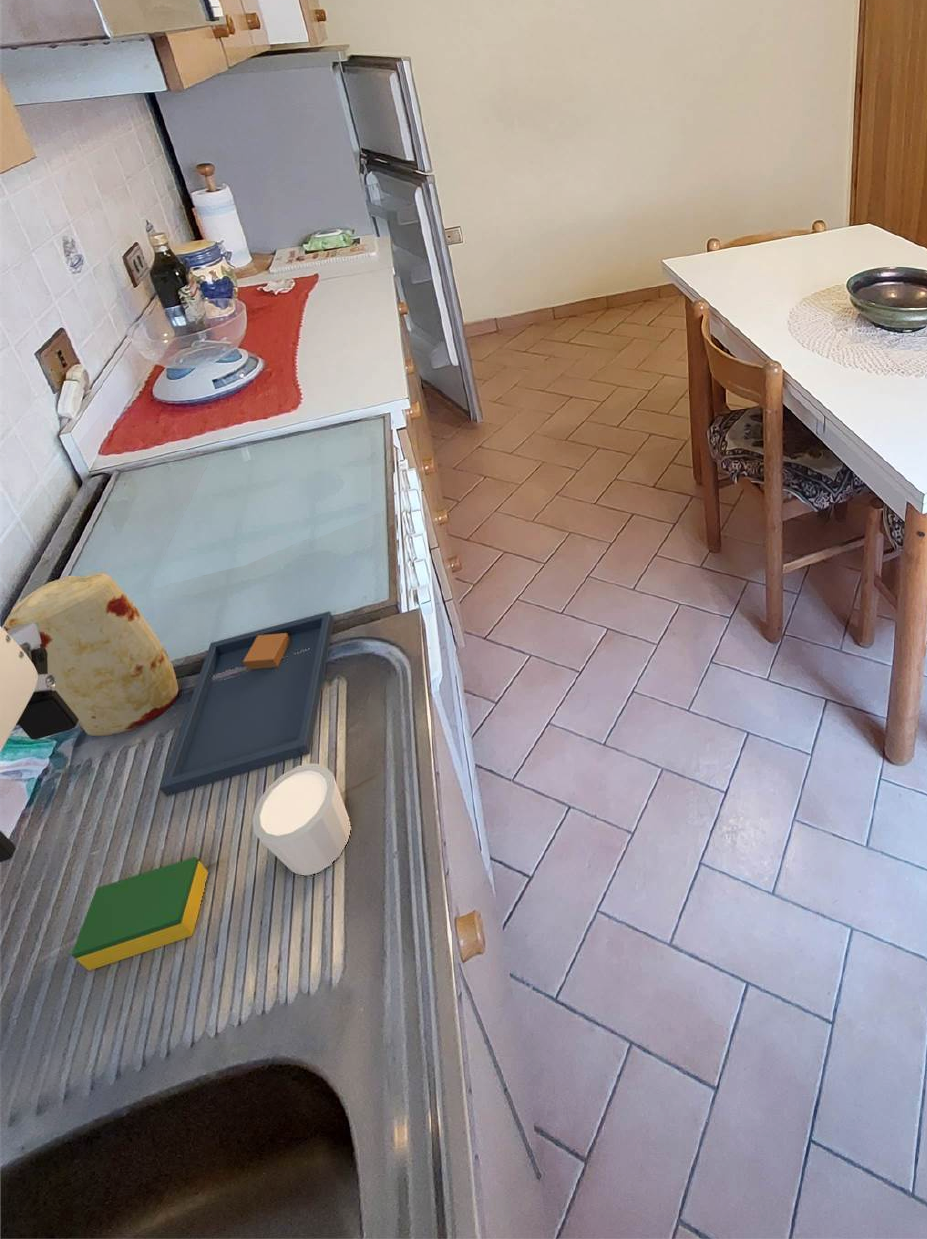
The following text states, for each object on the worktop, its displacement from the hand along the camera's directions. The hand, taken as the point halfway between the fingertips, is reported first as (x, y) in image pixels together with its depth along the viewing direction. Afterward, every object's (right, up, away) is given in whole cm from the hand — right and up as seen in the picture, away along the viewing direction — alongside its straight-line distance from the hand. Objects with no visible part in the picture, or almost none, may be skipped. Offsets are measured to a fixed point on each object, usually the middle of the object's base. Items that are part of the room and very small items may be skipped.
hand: (25, 790), depth 54 cm
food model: (-12, -9, +28) cm, 32 cm away
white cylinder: (+15, -14, +14) cm, 25 cm away
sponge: (+2, -18, +10) cm, 20 cm away
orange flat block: (0, -5, +32) cm, 33 cm away
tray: (+1, -8, +28) cm, 29 cm away
